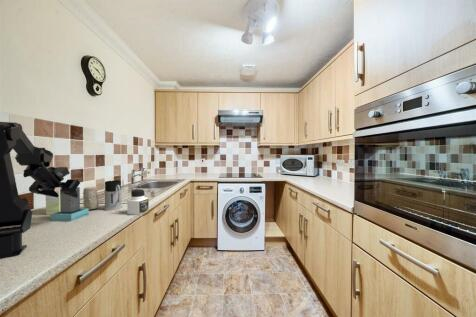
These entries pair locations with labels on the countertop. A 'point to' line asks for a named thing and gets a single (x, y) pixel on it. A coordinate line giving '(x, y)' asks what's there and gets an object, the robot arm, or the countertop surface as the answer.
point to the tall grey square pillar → (69, 203)
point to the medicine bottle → (137, 202)
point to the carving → (90, 198)
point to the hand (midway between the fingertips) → (67, 196)
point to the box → (53, 203)
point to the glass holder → (113, 195)
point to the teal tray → (69, 215)
